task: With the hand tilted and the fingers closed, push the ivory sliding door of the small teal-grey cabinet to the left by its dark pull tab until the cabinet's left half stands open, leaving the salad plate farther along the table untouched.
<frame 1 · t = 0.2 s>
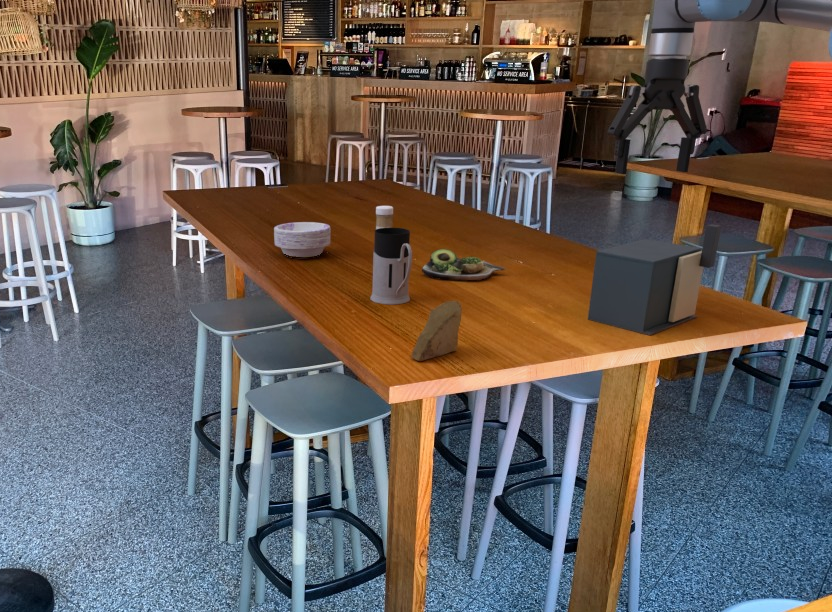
hand: (651, 172, 159), 28 cm above the table, tool pointing down, fingers open, 13 cm apart
sprinkles bottle: (383, 258, 212), on the table
cabinet: (638, 317, 161), on the table
glass holder: (395, 303, 172), on the table
sliding door: (694, 274, 154), point 10 cm above the table, slide at 0.0 cm
rock: (432, 354, 141), on the table
paper bowls: (302, 255, 215), on the table
salad plate: (456, 273, 196), on the table
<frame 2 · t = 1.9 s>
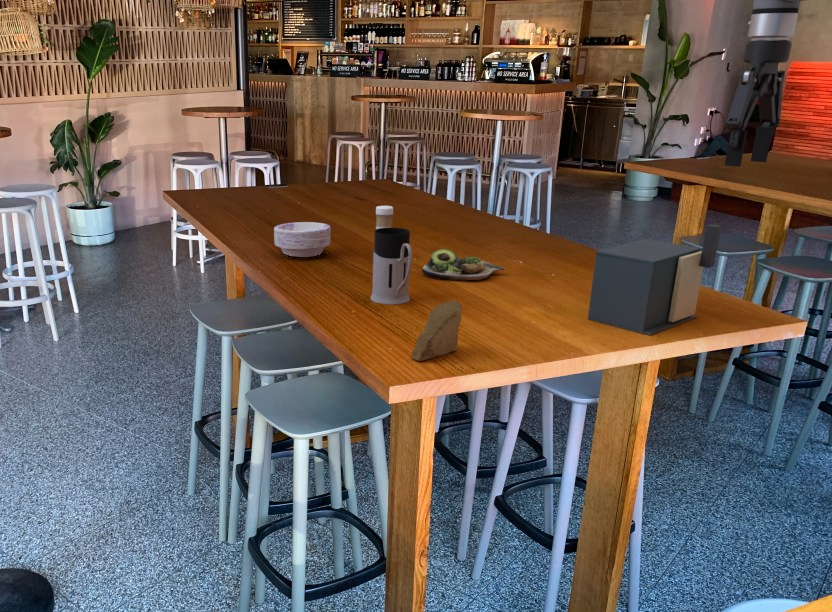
hand: (745, 163, 154), 30 cm above the table, tool pointing down, fingers open, 10 cm apart
nothing on the table moved.
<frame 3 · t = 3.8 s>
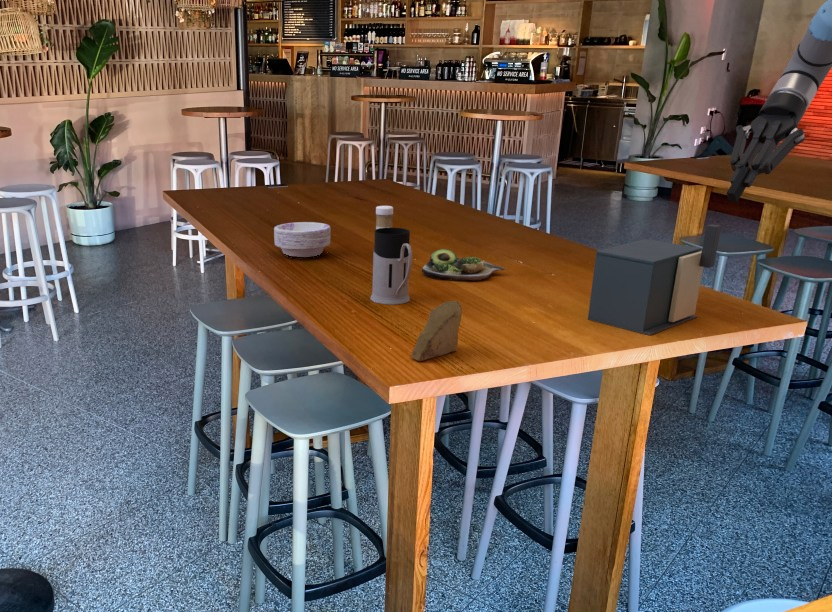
hand: (731, 197, 154), 24 cm above the table, tool tilted 45°, fingers closed
nothing on the table moved.
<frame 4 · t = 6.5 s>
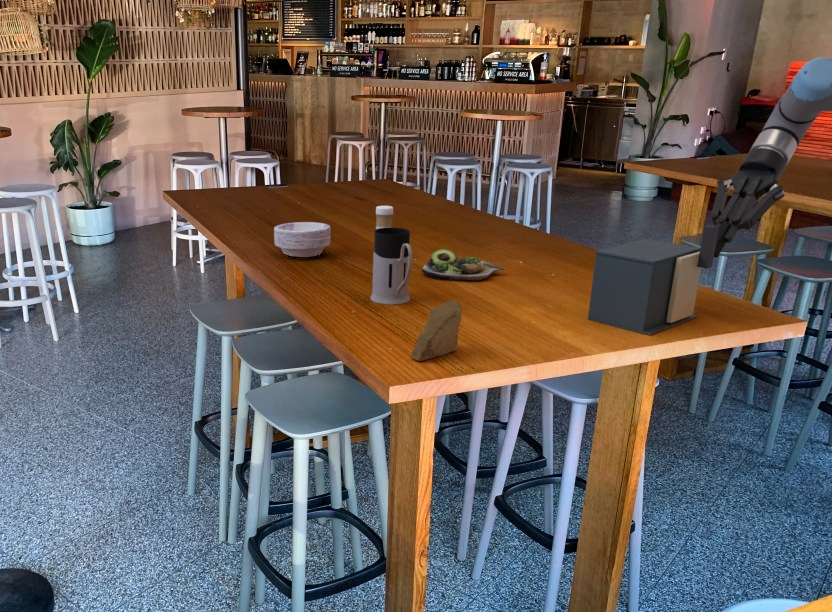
hand: (712, 252, 155), 13 cm above the table, tool tilted 45°, fingers closed
sliding door: (692, 274, 153), point 10 cm above the table, slide at 0.8 cm, touching gripper
everything else where it was.
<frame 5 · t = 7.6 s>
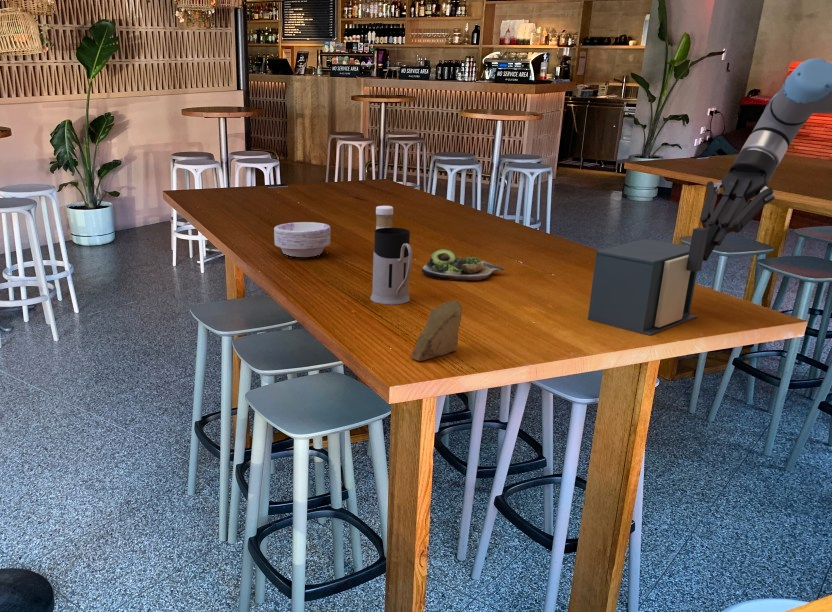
hand: (701, 256, 153), 13 cm above the table, tool tilted 45°, fingers closed
sliding door: (681, 278, 151), point 10 cm above the table, slide at 5.2 cm, touching gripper
everything else where it was.
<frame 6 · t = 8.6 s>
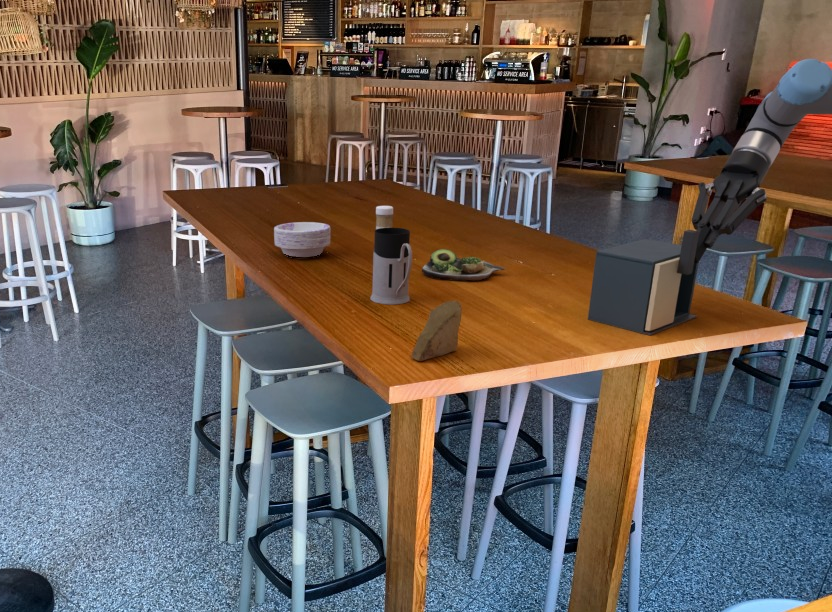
hand: (692, 258, 150), 14 cm above the table, tool tilted 45°, fingers closed
sliding door: (671, 281, 149), point 10 cm above the table, slide at 8.6 cm, touching gripper
everything else where it was.
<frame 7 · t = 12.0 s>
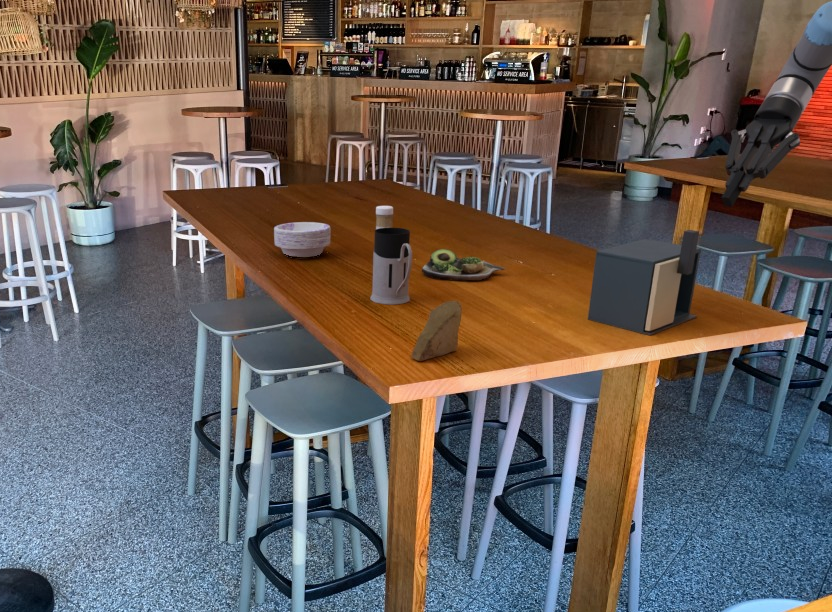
hand: (726, 202, 153), 23 cm above the table, tool tilted 45°, fingers closed
sliding door: (671, 281, 149), point 10 cm above the table, slide at 8.7 cm
everything else where it was.
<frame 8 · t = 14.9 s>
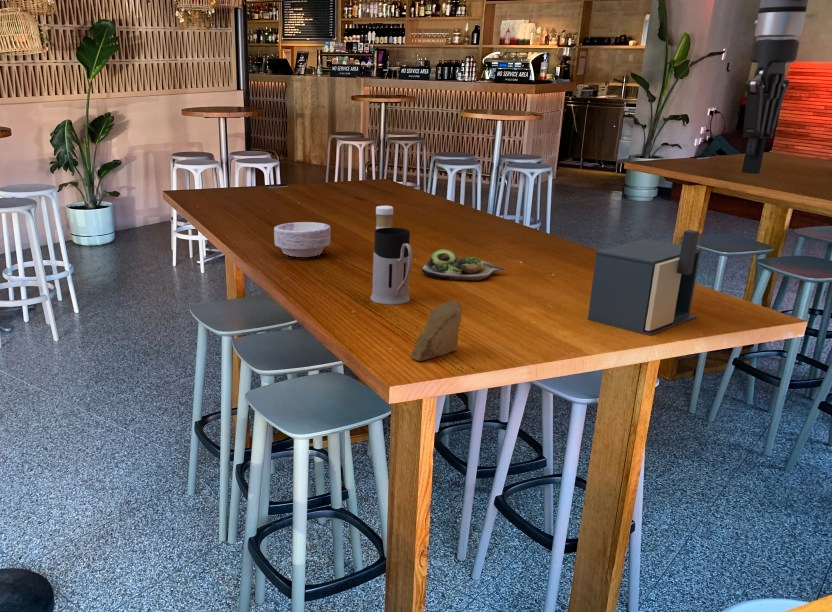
hand: (750, 172, 152), 28 cm above the table, tool pointing down, fingers closed
nothing on the table moved.
at the end: sliding door slide at 8.7 cm; salad plate moved 0.2 cm from its start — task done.
